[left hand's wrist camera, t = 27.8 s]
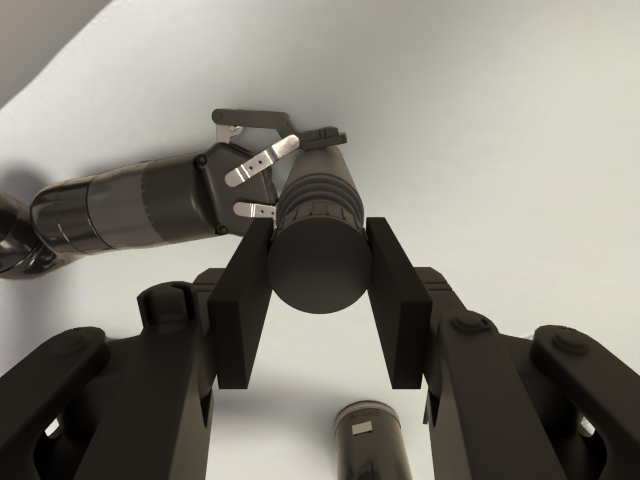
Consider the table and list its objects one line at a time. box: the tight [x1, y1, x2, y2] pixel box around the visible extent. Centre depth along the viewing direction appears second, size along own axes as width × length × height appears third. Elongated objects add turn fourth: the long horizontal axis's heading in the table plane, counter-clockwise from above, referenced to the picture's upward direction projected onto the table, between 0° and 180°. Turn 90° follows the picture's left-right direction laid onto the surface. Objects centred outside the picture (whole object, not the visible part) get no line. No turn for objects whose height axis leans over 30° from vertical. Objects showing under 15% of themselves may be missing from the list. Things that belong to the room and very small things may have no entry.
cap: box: [267, 202, 372, 314], centre depth 14 cm, size 4×4×2 cm
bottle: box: [276, 145, 364, 227], centre depth 24 cm, size 5×5×24 cm
